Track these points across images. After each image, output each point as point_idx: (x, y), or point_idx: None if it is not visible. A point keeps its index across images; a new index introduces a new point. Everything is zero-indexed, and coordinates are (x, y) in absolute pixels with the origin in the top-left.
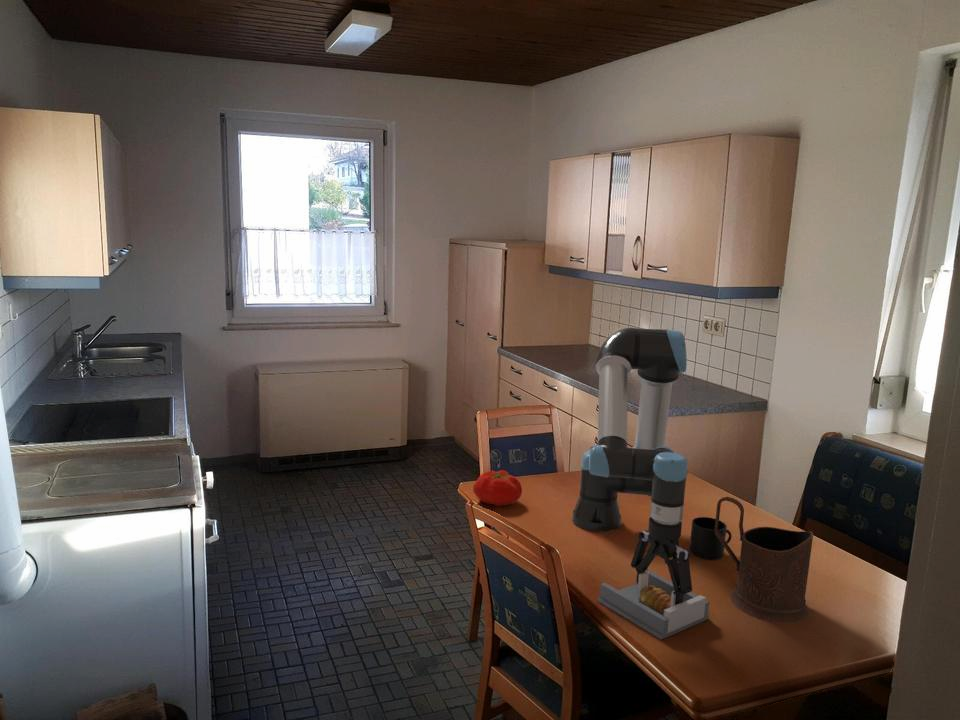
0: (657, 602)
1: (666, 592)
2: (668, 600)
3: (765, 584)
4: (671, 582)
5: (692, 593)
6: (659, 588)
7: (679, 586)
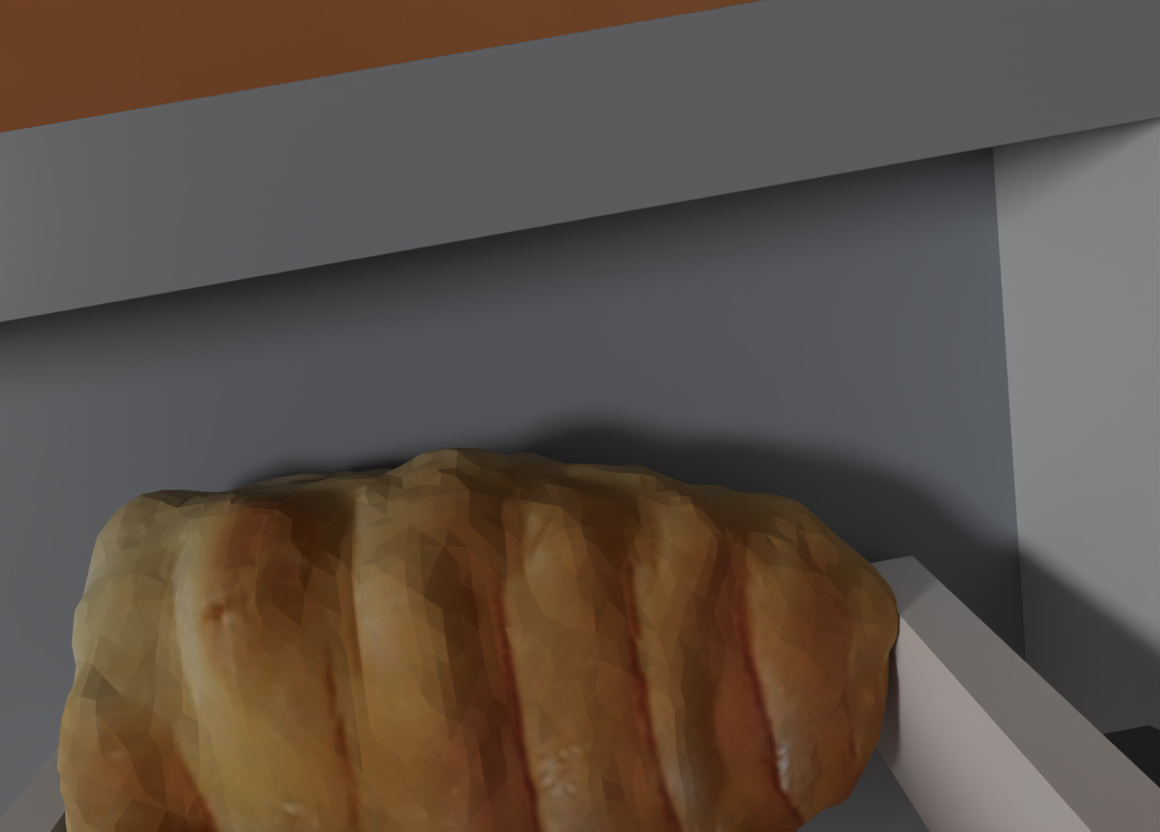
0: None
1: (441, 598)
2: (695, 708)
3: None
4: (33, 146)
5: (796, 13)
6: (245, 677)
7: (315, 79)
